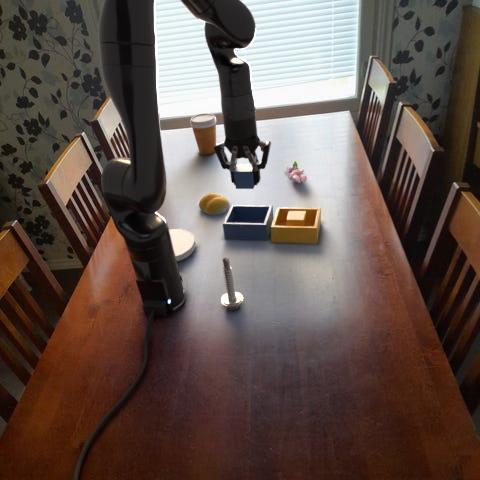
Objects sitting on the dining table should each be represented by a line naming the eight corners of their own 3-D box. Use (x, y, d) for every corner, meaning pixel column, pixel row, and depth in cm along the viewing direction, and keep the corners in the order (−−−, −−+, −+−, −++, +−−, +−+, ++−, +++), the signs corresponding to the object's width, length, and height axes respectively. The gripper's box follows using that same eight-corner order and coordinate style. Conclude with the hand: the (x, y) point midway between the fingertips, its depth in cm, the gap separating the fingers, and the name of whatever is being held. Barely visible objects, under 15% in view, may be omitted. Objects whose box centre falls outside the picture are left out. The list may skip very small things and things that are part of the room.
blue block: (253, 189, 112) (251, 171, 109) (235, 188, 113) (233, 171, 110) (257, 180, 115) (255, 163, 112) (239, 180, 116) (237, 163, 113)
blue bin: (267, 239, 119) (266, 224, 116) (224, 238, 121) (222, 223, 118) (273, 220, 126) (272, 205, 123) (233, 219, 128) (231, 204, 125)
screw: (222, 300, 102) (243, 298, 102) (222, 314, 99) (244, 312, 98) (213, 252, 93) (237, 249, 93) (213, 265, 90) (237, 263, 90)
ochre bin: (316, 243, 115) (317, 228, 112) (271, 242, 118) (270, 227, 115) (320, 222, 122) (320, 207, 119) (278, 221, 125) (277, 207, 122)
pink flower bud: (282, 176, 148) (292, 189, 135) (280, 158, 145) (291, 169, 132) (301, 173, 148) (312, 186, 135) (299, 155, 145) (312, 166, 132)
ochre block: (304, 235, 117) (303, 220, 114) (286, 234, 118) (286, 219, 115) (306, 226, 121) (306, 211, 118) (289, 225, 122) (288, 210, 119)
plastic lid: (139, 246, 123) (136, 238, 121) (188, 232, 126) (186, 224, 124) (150, 273, 113) (147, 264, 111) (203, 257, 116) (201, 248, 114)
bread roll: (214, 218, 130) (212, 206, 127) (195, 209, 135) (193, 197, 133) (235, 207, 133) (234, 195, 131) (217, 198, 139) (215, 186, 136)
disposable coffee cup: (191, 150, 169) (185, 117, 161) (214, 143, 172) (210, 110, 164) (200, 158, 163) (194, 124, 155) (224, 151, 165) (220, 117, 157)
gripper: (204, 120, 101) (215, 190, 113) (266, 118, 98) (271, 191, 109) (213, 108, 107) (222, 177, 118) (272, 106, 103) (277, 177, 115)
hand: (246, 183), depth 114 cm, fingers closed on blue block, 4 cm apart
